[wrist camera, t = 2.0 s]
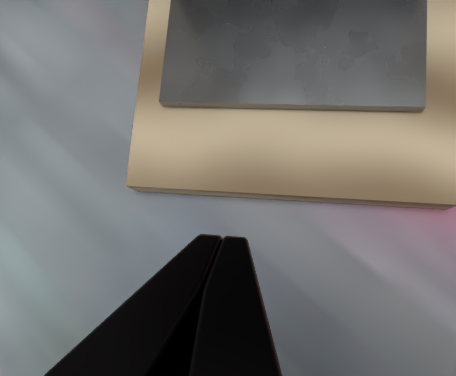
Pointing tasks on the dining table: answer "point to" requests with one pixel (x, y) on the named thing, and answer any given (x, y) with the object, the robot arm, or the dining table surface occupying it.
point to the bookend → (296, 54)
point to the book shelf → (301, 139)
